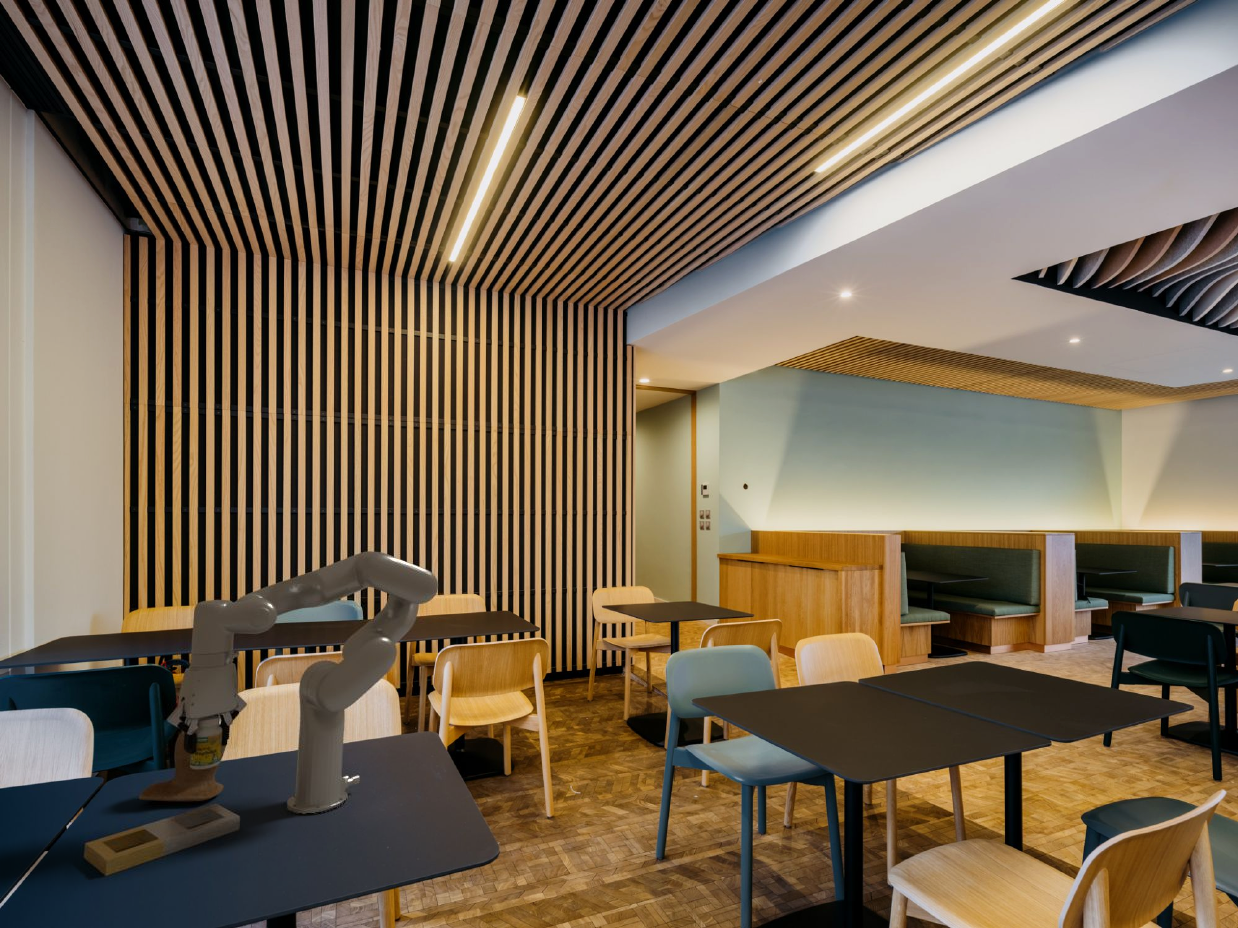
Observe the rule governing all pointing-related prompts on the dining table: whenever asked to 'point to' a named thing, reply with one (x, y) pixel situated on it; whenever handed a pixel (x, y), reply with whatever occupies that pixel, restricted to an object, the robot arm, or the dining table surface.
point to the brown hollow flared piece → (185, 780)
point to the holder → (160, 838)
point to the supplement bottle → (207, 743)
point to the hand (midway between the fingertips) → (206, 747)
